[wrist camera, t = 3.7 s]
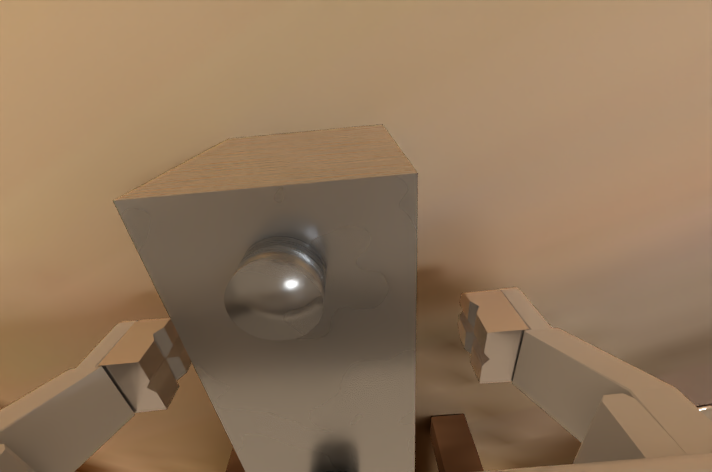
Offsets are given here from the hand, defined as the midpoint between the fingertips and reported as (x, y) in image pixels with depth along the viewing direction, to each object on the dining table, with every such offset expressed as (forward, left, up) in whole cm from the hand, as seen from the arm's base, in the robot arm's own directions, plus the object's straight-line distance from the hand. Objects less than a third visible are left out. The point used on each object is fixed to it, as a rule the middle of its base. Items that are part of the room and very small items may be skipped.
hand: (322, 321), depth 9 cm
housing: (0, 0, -2) cm, 2 cm away
